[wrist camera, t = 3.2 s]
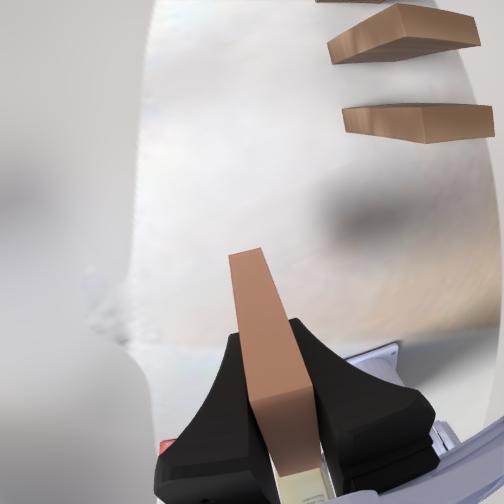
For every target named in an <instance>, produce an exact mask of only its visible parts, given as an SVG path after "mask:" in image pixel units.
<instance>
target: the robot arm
mask: <svg viewBox="0 0 504 504" xmlns="http://www.w3.org/2000/svg"><path fill="white" fill-rule="evenodd" d="M288 321H289V324H290V326H291V329H292V332H293V334H294V337H295V340H296V342H297V345H298V348H299V350H300V353H301V356H302V358H303V361H304V364H305V366H306V369H307V372H308V374H309V377H310V380H311V382H312V385H313V392H314V400H315V407H316V415H317V423H318V431H319V438H320V442H321V445H322V448H323V452H324V455H325V458H326V462H327V465H328V469H329V472H330V475H331V479H332V482H333V486H334V490H335V493H336V497H337V498H334V499H330V500H327V501H323V502H320V503H316V504H479V503H480V502H481V501H483V500H484V499H486V498H487V497H488V496H490V495H491V494H493V493H494V492H495V491H497V490H498V489H499V488H501V487H502V486H503V485H504V416H503V417H501V418H500V419H499V420H497V421H495V422H494V423H492V424H491V425H490V426H488V427H487V428H485V429H483V430H482V431H480V432H479V433H477V434H476V435H474V436H472V437H471V438H469V439H467V440H466V441H464V442H462V443H461V442H460V441H459V439H458V438H457V436H456V434H455V433H454V431H453V430H452V428H451V427H450V426H449V424H448V423H447V422H444V421H441V422H440V421H439V420H437V421H436V422H435V423H434V420H435V415H436V413H435V411H434V409H433V407H432V406H431V404H430V403H429V401H428V400H427V399H426V398H425V397H424V396H423V395H422V394H421V393H420V392H419V391H418V390H415V389H411V388H407V387H405V385H404V383H403V382H402V380H401V379H400V377H399V376H398V374H397V373H396V367H397V357H398V345H397V344H396V343H393V344H391V345H388V346H385V347H382V348H380V349H377V350H374V351H371V352H368V353H366V354H363V355H360V356H357V357H354V358H351V359H348V360H344V359H342V358H341V357H339V356H338V355H337V354H335V353H334V352H333V351H331V350H330V349H329V348H328V347H326V346H325V345H324V344H323V343H322V342H321V341H319V340H318V339H317V338H316V337H315V336H314V335H313V334H312V333H311V332H310V331H309V330H308V329H307V328H306V327H305V326H304V325H303V323H302V322H301V321H300V320H299V319H298V318H293V319H290V320H288ZM432 425H434V427H435V429H436V430H437V432H438V433H437V434H438V435H439V437H440V439H441V440H442V442H443V444H442V443H441V441H440V439H439V438H438V436H437V434H436V433H435V431H434V429H433V428H432ZM154 494H155V495H156V496H157V497H158V498H159V499H160V500H161V501H162V502H164V503H165V504H281V503H280V499H279V495H278V491H277V487H276V482H275V478H274V474H273V470H272V465H271V461H270V456H269V452H268V448H267V446H266V443H265V440H264V438H263V435H262V433H261V430H260V428H259V425H258V422H257V420H256V417H255V415H254V412H253V409H252V407H251V404H250V401H249V395H248V389H247V382H246V376H245V369H244V363H243V356H242V349H241V342H240V336H239V332H238V333H234V334H230V336H229V337H228V342H227V347H226V350H225V354H224V357H223V360H222V363H221V366H220V369H219V371H218V374H217V376H216V379H215V381H214V383H213V385H212V388H211V390H210V392H209V394H208V395H207V397H206V399H205V401H204V403H203V404H202V406H201V408H200V409H199V411H198V412H197V414H196V415H195V417H194V418H193V419H192V421H191V422H190V424H189V425H188V426H187V427H186V428H185V430H184V431H183V432H182V433H181V434H180V436H179V437H178V438H177V439H176V440H175V441H174V442H173V443H172V444H171V445H170V446H169V447H168V448H167V449H166V450H165V451H164V452H163V453H162V454H160V455H159V456H158V460H157V465H156V469H155V478H154Z"/></svg>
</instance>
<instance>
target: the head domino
mask: <svg viewBox="0 0 504 504" xmlns="http://www.w3.org/2000/svg"><path fill="white" fill-rule="evenodd" d="M228 256H229V264H230V271H231V279H232V286H233V293H234V300H235V308H236V315H237V322H238V329H239V336H240V342H241V349H242V356H243V363H244V369H245V376H246V382H247V389H248V395H249V401H250V404H251V407H252V409H253V412H254V415H255V417H256V420H257V422H258V425H259V428H260V430H261V433H262V435H263V438H264V440H265V443H266V446H267V448H268V451H269V453H270V456H271V458H272V460H273V463H274V465H275V468H276V470H277V473H278V475H279V478H280V477H285V476H289V475H293V474H297V473H301V472H305V471H309V470H313V469H316V468H320V467H323V465H322V456H321V448H320V439H319V431H318V423H317V415H316V407H315V400H314V392H313V385H312V382H311V380H310V377H309V374H308V372H307V369H306V366H305V364H304V361H303V358H302V356H301V353H300V350H299V348H298V345H297V342H296V340H295V337H294V334H293V332H292V329H291V326H290V324H289V321H288V318H287V316H286V313H285V310H284V308H283V305H282V302H281V300H280V297H279V294H278V292H277V289H276V287H275V284H274V281H273V279H272V276H271V273H270V271H269V268H268V265H267V263H266V260H265V258H264V255H263V252H262V250H261V248H257V249H253V250H249V251H245V252H241V253H237V254H232V255H228Z"/></svg>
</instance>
